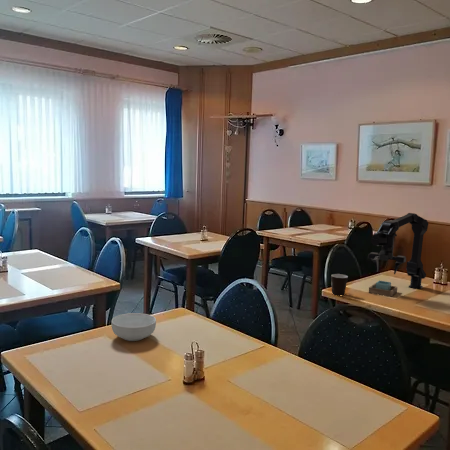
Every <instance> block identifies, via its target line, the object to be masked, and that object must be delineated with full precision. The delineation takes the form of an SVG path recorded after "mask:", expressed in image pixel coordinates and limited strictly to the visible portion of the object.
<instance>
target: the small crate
mask: <svg viewBox="0 0 450 450" xmlns="http://www.w3.org/2000/svg"><path fill="white" fill-rule="evenodd" d="M375 283H376V288H377V289H383V290H388V291H391V286H392V282H391V281H385V280H378V281H377V282H375Z"/></svg>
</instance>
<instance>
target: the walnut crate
mask: <svg viewBox="0 0 450 450" xmlns="http://www.w3.org/2000/svg"><path fill="white" fill-rule="evenodd" d="M397 292H398V286H393V285H391V291H388V290H383V289H377V288H376V282H375V283H373V284H372V285H371V286H369V287H368V294H372V293H374V294H373V295H377V294H379V295H378V296H383V295H384V297H389V296H390V297H389V298H392V297H393V296H394V295H396V294H397Z"/></svg>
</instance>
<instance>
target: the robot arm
mask: <svg viewBox="0 0 450 450" xmlns="http://www.w3.org/2000/svg"><path fill="white" fill-rule="evenodd" d="M407 224H410V225H411V230H412V233H413V239H412V240H413V241H412V248H411V257H410V259H409V261H407V257H406V256H405V255H397V256H394V248H395V247H394V241H395V237H397V234H396V232H397V231H398V230H399V228H401V227H404V226H405V225H407ZM428 228H429V221H428V220H427V219H425V217H424V218H423V217H422V216H419V214H417V213H414V212H413V213H412V212H408V213H406V214H404V215H402V216H400V217H398V218H396V219H393V220H392V219H390V220H384V221H383V222H382V223H381V225H380V227H379V229H378V230H377V231H376V232H374V234H373V235H372V236H371V238H370V243H371V244H372V246H374V247H380V246H381V250H380V251H379V252H373V251H372V252H370V253H368V256H367V259H368V260H369V259H370V261H372V262H373V264H374V268H375V270H376V272H379V263H380V262H379V260H380V261H389V260H393V261H396V262H395V263H394V264H395V265H394V271H393V275H396V273H397V272H398V269H399V268H400V266H401V265H402V264H405V263H406V268H405V269H406V274H407V276H409V277H410V284H409V285H408V288H410V289H411V288H412V289H417V290H421V289H423V285H422V282H423V281H422V280H423V279H424V280H425V279H426V277H427V273H426V272H425V271H424V264H423V262H422V250H423V241H424V236H425V234H426V232H427V231H428Z"/></svg>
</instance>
